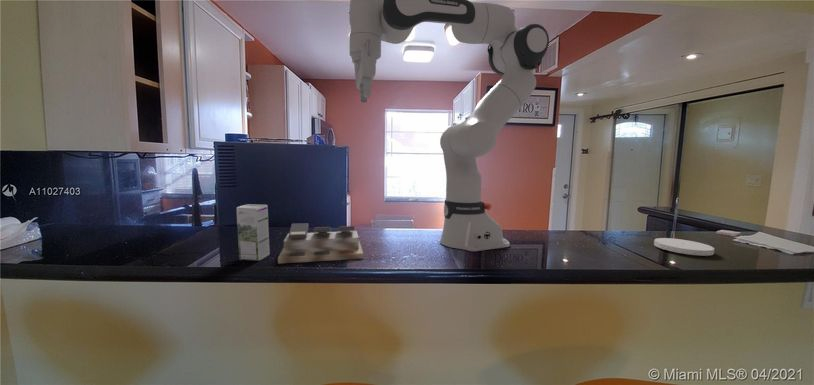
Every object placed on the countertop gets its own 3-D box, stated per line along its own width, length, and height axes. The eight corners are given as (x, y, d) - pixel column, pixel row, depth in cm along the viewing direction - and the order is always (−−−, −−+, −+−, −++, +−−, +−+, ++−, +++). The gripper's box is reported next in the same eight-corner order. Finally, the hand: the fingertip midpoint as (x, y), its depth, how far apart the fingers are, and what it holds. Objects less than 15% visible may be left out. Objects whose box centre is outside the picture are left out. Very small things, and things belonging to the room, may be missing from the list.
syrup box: (270, 254, 86) (268, 203, 85) (258, 261, 80) (256, 207, 79) (251, 253, 87) (249, 203, 85) (238, 260, 81) (235, 206, 79)
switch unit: (359, 246, 96) (359, 227, 95) (363, 258, 84) (363, 237, 84) (285, 249, 91) (284, 230, 90) (278, 263, 79) (277, 241, 79)
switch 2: (352, 230, 94) (352, 226, 94) (354, 229, 87) (354, 225, 87) (337, 231, 92) (337, 227, 93) (337, 230, 86) (337, 226, 86)
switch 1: (308, 226, 91) (308, 222, 90) (306, 237, 84) (306, 234, 84) (292, 226, 90) (291, 223, 89) (288, 238, 83) (288, 235, 83)
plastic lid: (702, 249, 99) (703, 241, 99) (722, 262, 87) (723, 253, 87) (648, 243, 106) (649, 236, 105) (660, 254, 93) (661, 246, 93)
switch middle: (331, 231, 92) (331, 227, 92) (330, 230, 85) (330, 226, 85) (315, 232, 91) (315, 228, 91) (313, 231, 84) (313, 227, 84)
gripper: (381, 37, 77) (381, 93, 78) (372, 61, 97) (372, 106, 98) (356, 34, 75) (356, 91, 77) (352, 59, 95) (352, 104, 97)
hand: (365, 100), depth 88 cm, fingers open, 8 cm apart
